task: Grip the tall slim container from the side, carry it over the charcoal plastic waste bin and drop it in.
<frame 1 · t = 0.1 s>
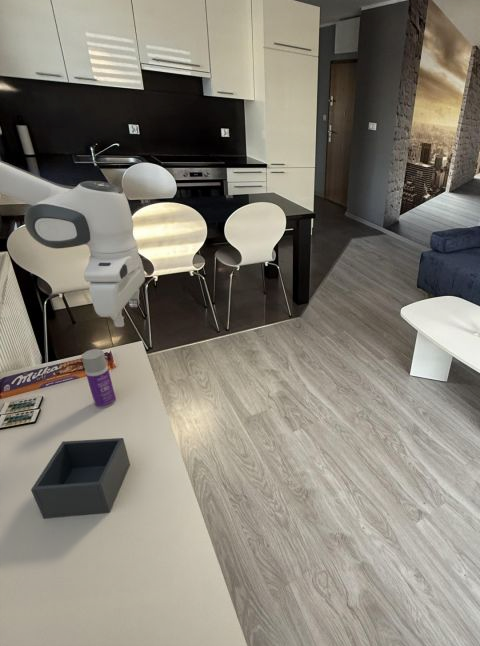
hand: (128, 315, 92), 26 cm above the table, tool pointing down, fingers open, 8 cm apart
container: (105, 402, 103), on the table
bin: (90, 489, 80), on the table
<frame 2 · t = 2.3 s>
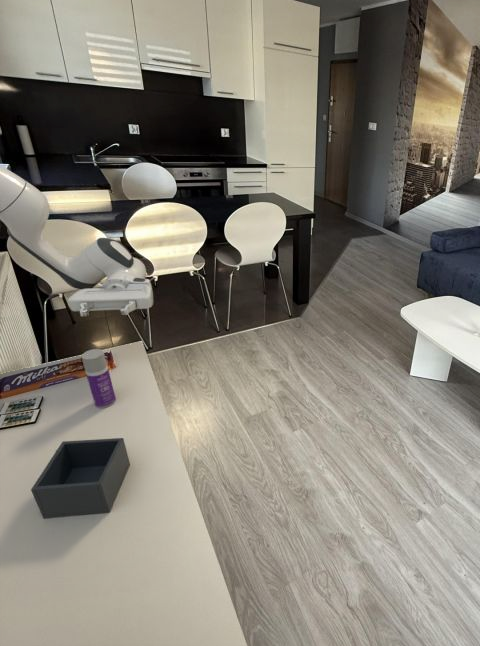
hand: (103, 313, 103), 20 cm above the table, tool horizontal, fingers open, 8 cm apart
nothing on the table moved.
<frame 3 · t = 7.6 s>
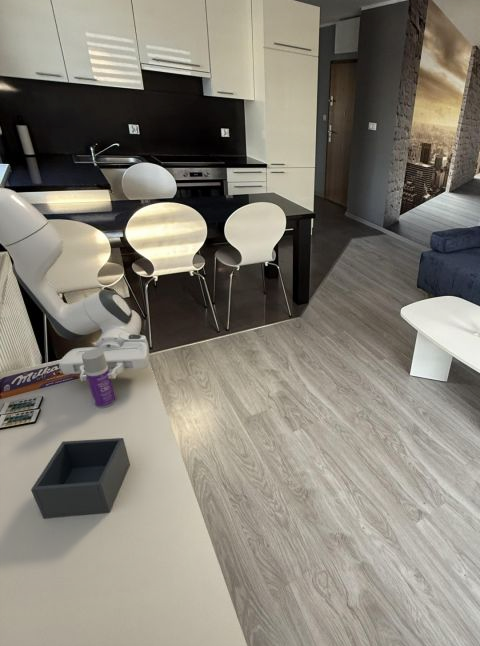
hand: (97, 377, 98), 9 cm above the table, tool horizontal, fingers closed on container, 4 cm apart
container: (105, 402, 103), on the table, touching gripper
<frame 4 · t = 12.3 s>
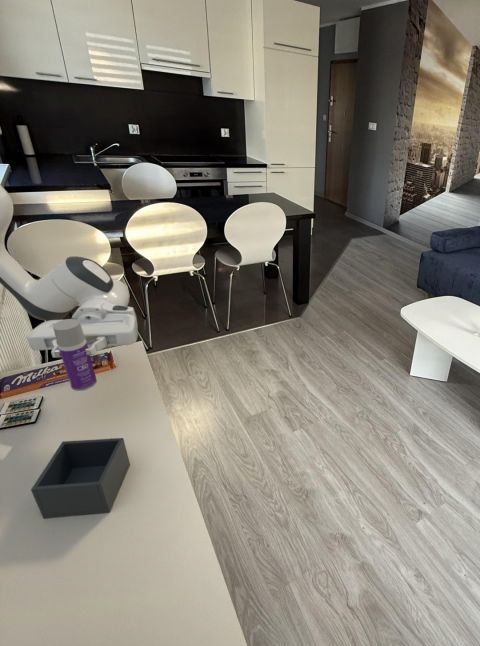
hand: (73, 353, 81), 24 cm above the table, tool horizontal, fingers closed on container, 4 cm apart
container: (84, 384, 86), point 15 cm above the table, touching gripper
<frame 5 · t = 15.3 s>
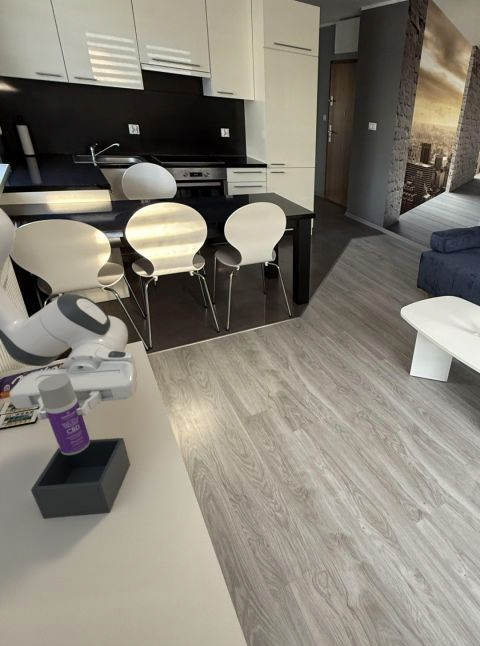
hand: (62, 414, 70), 21 cm above the table, tool horizontal, fingers closed on container, 4 cm apart
container: (75, 446, 75), point 12 cm above the table, touching gripper
when the fingers open (15 cm above the table, at t = 17.4 s): container drops 5 cm, resting on bin.
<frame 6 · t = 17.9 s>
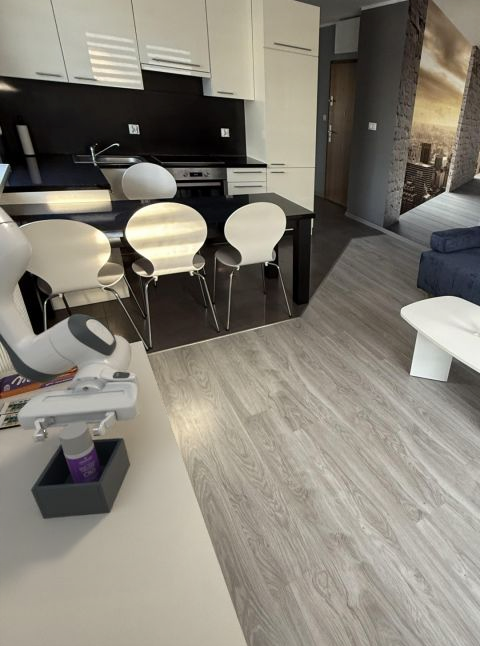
hand: (68, 436, 72), 16 cm above the table, tool horizontal, fingers open, 8 cm apart
container: (91, 486, 80), point 1 cm above the table, touching bin
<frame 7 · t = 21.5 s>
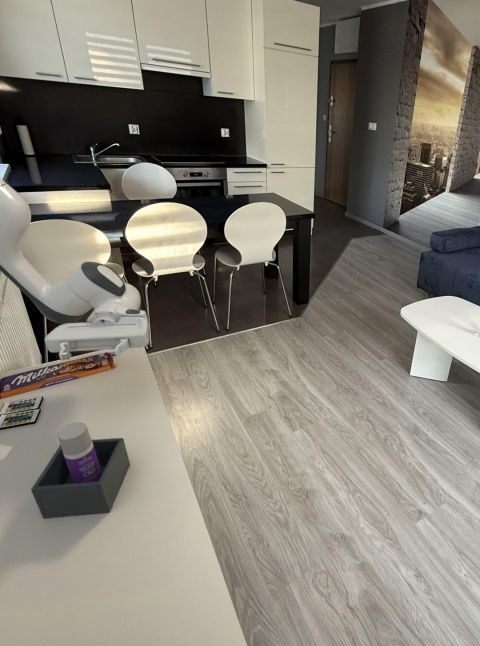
hand: (89, 355, 84), 22 cm above the table, tool horizontal, fingers open, 8 cm apart
nothing on the table moved.
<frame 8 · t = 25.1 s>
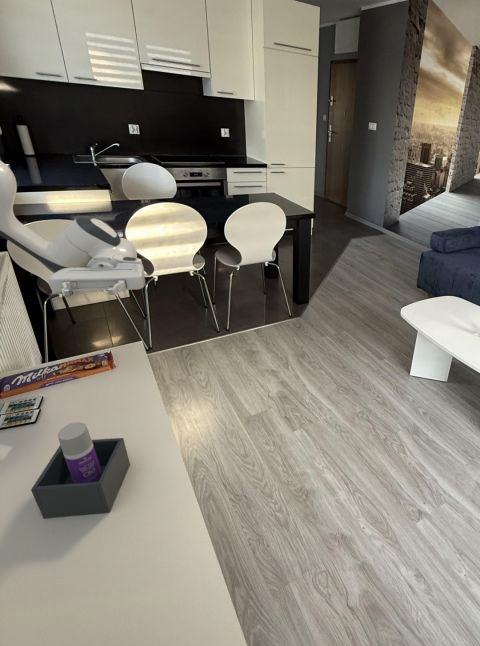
hand: (89, 292, 92), 30 cm above the table, tool horizontal, fingers open, 8 cm apart
nothing on the table moved.
at the end: container inside the target area in the bin (0.4 cm from its centre), point 0.8 cm above the bin's base; the gripper is holding nothing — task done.
